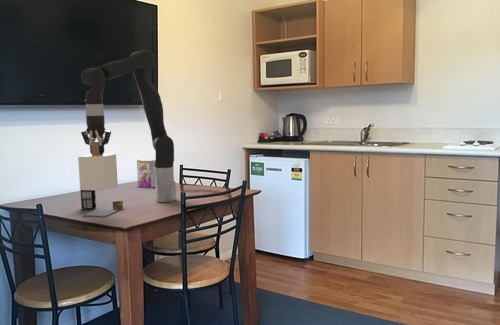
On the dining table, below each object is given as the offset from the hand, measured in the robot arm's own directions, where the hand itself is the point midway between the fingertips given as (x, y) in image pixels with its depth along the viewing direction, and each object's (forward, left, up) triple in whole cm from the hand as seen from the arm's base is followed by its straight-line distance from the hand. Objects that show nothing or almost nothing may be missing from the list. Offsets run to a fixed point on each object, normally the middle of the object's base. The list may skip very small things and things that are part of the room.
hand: (97, 153), depth 204 cm
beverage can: (+12, -10, -27) cm, 31 cm away
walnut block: (-2, -12, -27) cm, 30 cm away
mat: (0, 0, -27) cm, 27 cm away
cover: (0, 0, -15) cm, 15 cm away
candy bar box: (+12, -73, -27) cm, 79 cm away
